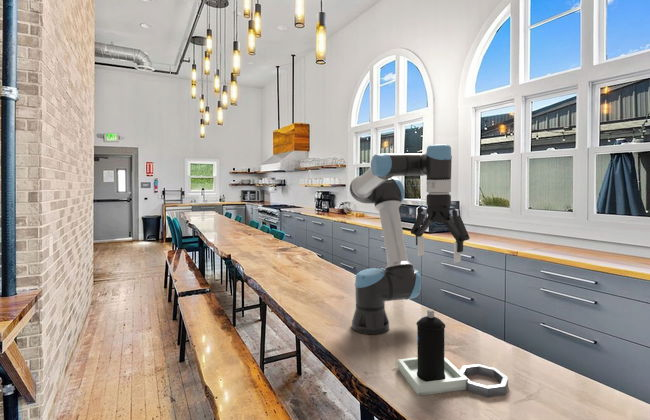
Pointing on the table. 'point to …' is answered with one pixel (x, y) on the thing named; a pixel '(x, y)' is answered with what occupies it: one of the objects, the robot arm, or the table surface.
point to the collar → (483, 389)
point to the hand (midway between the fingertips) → (438, 258)
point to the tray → (450, 383)
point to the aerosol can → (430, 348)
